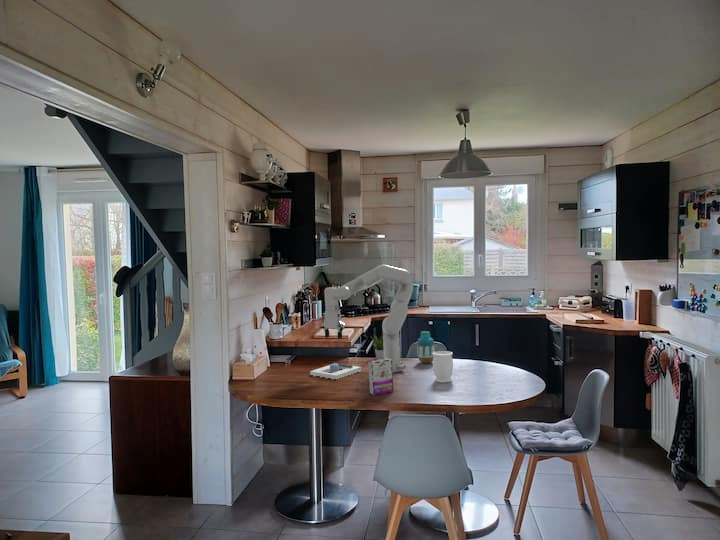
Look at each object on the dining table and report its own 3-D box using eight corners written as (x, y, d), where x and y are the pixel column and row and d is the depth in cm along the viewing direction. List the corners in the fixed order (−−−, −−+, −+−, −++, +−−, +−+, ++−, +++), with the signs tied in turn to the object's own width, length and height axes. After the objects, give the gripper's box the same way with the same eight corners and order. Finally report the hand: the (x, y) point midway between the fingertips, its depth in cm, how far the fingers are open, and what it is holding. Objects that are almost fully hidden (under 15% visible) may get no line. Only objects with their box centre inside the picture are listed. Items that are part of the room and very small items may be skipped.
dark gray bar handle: (352, 367, 290) (352, 365, 290) (350, 368, 289) (350, 365, 289) (335, 365, 299) (335, 362, 299) (333, 365, 298) (333, 363, 298)
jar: (431, 382, 260) (430, 354, 259) (435, 377, 269) (434, 350, 269) (451, 383, 256) (450, 355, 256) (455, 378, 266) (454, 351, 265)
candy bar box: (389, 389, 251) (387, 357, 250) (393, 392, 246) (392, 359, 246) (369, 393, 246) (367, 360, 246) (373, 395, 242) (371, 362, 241)
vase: (416, 361, 310) (414, 331, 309) (432, 360, 311) (431, 330, 310) (420, 365, 299) (418, 333, 298) (437, 364, 300) (435, 332, 300)
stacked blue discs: (340, 373, 288) (340, 364, 288) (335, 375, 284) (334, 365, 284) (334, 372, 292) (333, 363, 291) (328, 374, 288) (328, 365, 287)
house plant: (365, 361, 317) (363, 335, 317) (370, 356, 330) (369, 332, 330) (386, 361, 313) (385, 336, 312) (391, 356, 326) (390, 332, 326)
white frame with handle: (361, 371, 291) (360, 367, 291) (336, 379, 274) (336, 375, 274) (335, 367, 304) (335, 363, 304) (310, 375, 287) (310, 371, 287)
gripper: (347, 308, 286) (349, 337, 287) (325, 307, 296) (326, 335, 297) (339, 309, 280) (340, 340, 281) (316, 309, 290) (318, 338, 291)
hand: (333, 337), depth 289 cm, fingers open, 9 cm apart
